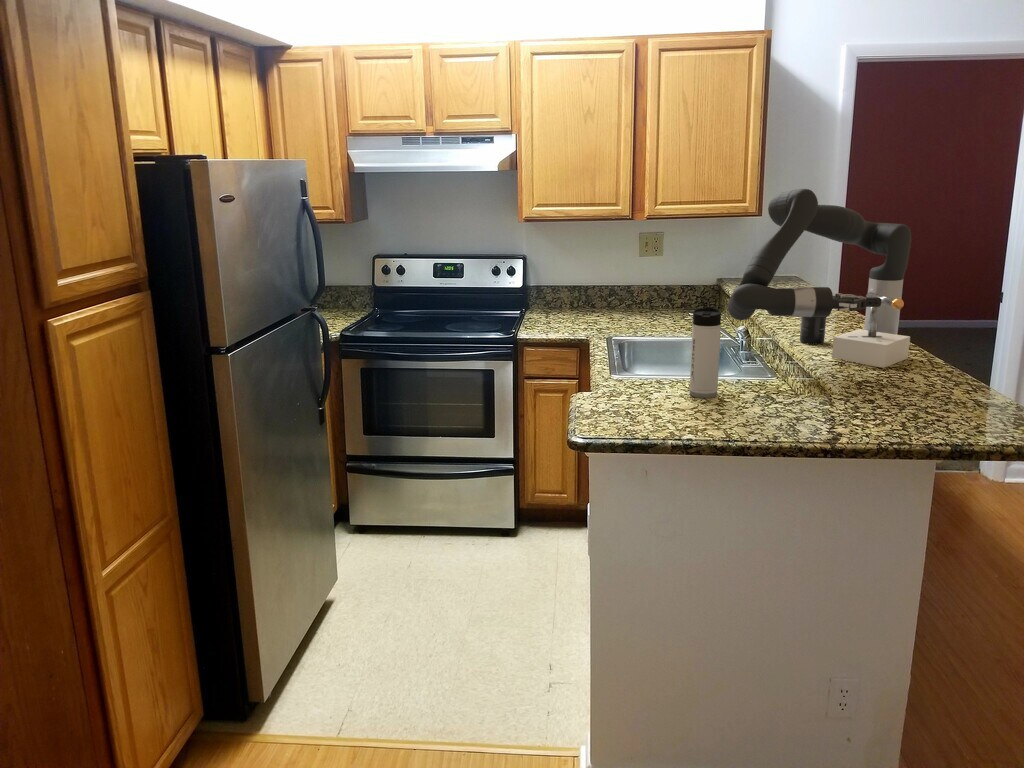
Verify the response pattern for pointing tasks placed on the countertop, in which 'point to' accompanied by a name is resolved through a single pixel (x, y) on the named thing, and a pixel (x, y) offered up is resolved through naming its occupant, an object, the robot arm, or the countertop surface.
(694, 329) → the travel mug
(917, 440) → the countertop surface
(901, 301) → the T-key
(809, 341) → the supplement bottle
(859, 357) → the block
